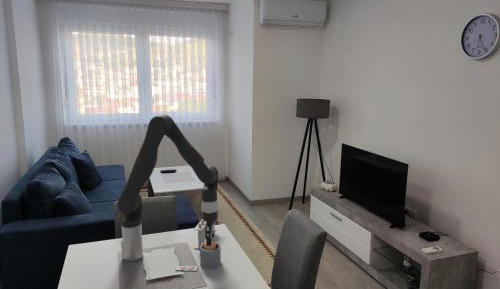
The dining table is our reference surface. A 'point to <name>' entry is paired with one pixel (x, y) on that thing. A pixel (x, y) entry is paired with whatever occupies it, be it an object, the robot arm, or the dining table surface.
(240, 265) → the dining table surface
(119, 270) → the dining table surface
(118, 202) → the robot arm
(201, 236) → the test tube rack
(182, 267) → the card
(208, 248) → the ball
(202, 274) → the dining table surface
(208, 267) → the tube
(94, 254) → the dining table surface
